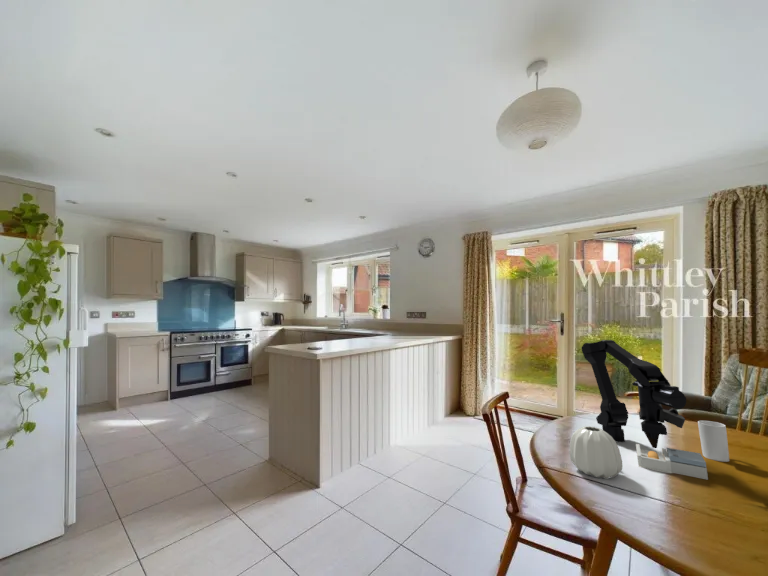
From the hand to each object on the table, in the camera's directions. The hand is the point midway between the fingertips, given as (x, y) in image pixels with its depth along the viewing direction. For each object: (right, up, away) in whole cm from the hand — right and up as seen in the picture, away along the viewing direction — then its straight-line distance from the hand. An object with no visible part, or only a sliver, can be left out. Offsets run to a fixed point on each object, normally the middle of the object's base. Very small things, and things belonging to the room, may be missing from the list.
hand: (654, 447), depth 107 cm
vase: (-26, -4, -8) cm, 27 cm away
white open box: (+1, -4, -4) cm, 6 cm away
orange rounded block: (-4, -3, -4) cm, 6 cm away
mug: (+22, -4, 0) cm, 22 cm away
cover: (+2, +1, -9) cm, 9 cm away
